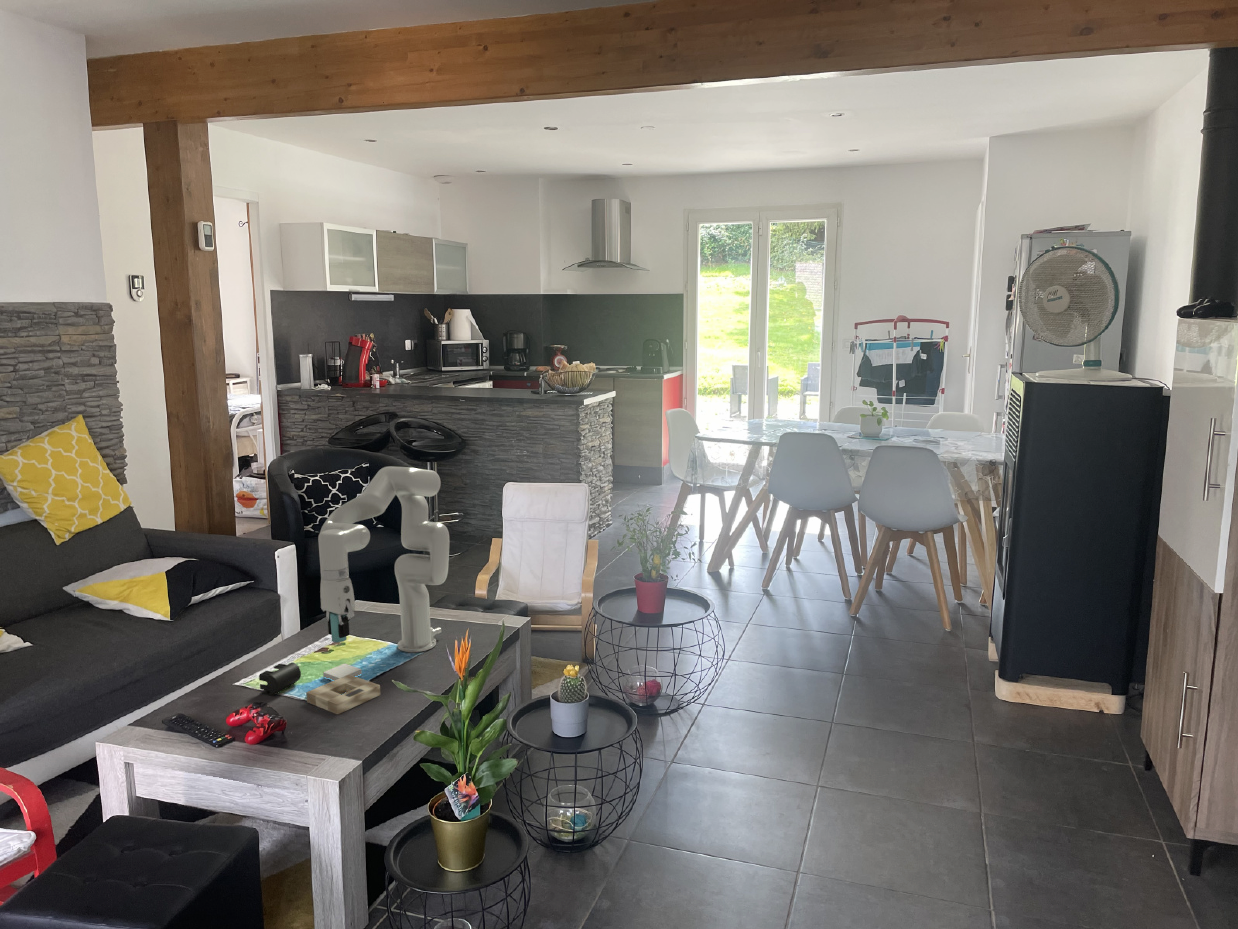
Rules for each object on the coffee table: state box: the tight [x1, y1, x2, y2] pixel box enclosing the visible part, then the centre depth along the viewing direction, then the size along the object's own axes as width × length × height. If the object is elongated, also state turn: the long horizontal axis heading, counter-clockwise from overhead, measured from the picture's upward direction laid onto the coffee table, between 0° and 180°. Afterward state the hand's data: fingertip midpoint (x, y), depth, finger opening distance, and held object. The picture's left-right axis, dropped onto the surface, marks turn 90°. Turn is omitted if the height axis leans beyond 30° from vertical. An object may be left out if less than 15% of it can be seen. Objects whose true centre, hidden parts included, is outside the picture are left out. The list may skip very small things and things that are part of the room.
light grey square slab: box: [322, 663, 363, 680], centre depth 268 cm, size 8×8×2 cm
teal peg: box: [330, 613, 348, 643], centre depth 250 cm, size 4×4×8 cm
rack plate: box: [305, 674, 381, 715], centre depth 253 cm, size 15×14×3 cm
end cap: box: [258, 662, 302, 697], centre depth 260 cm, size 10×7×7 cm
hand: (339, 634), depth 250 cm, fingers closed on teal peg, 4 cm apart
